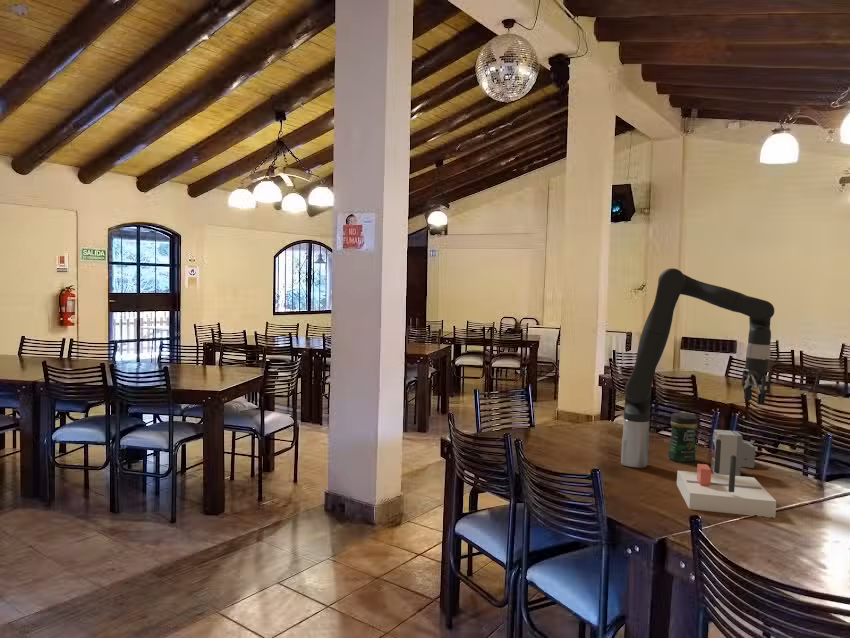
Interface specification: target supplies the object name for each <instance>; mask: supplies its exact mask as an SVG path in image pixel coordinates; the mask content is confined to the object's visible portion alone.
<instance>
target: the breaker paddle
mask: <svg viewBox="0 0 850 638" xmlns="http://www.w3.org/2000/svg"><path fill="white" fill-rule="evenodd" d="M696 472H697V480H698V482H699V483H700V485H710V483H711V474H712V470H711V466H709V465H708V464H706V463H705V464H704V463H702V464H701V463H697V465H696Z"/></svg>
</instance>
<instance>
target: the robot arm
mask: <svg viewBox="0 0 850 638" xmlns="http://www.w3.org/2000/svg"><path fill="white" fill-rule="evenodd" d="M657 281H658V282H657V288H656V294H655V298H654V302H653V304H652V306H651V308H650V311H649V313H648V316H647V317H646V320H645V322H644V325H643V328H642V331H641V335H640V337H639V342H638V347H637V352H636V358H635V363H634V365H633V369H632V372H631V374H630V376H629V378H628V380H627V382H626V383H625V386H624V393H625V395H624V408H623V421H622V422H623V423H622V424H623V426H622V437H621V452H620V453H621V454H620V463H621V465H622V466H624V467H629V468H636V469H639V468H646V467H648V456H649V455H648V454H649V453H648V451H649V434H650V419H651V418H650V417H651V401H652V399H651V398H652V385H653V381H654V377H655V375H654V374H655V371H656V369H657V366H658V364H659V362H660V360H661V357H663V356H662V355H663V353H664V350H665V348H666V345H667V342H668V340H669V339H668V338H669V335H670V332H671V329H672V322H673V317H674V312H675V308H676V306H677V302H678V300H679V298H680V296H681V295H684V296H688V297H691V298H695V299H697V300H700V301H703V302H706V303H708V304H711V305H713V306H716V307H718V308H720V309H724V310H728V311H731V312H733V313H739V314H742V315H744V316H747V317H748V319H749V321H748V323H749V330H748V340H747V345H746V354H745V366H744V367H745V369H744V370H743V371H742V378H741V387H743V389H744V400H746V401H751V400H752V396H753V388H754V387H755V389H756V391H757V401H756V404H757V405H758V406H764V405H765V402H766V395H767V394H771V393H770V392H771V380H772V379H771V375H766V373H767V372H769V370H770V363H771V362H770V361H771V351H772V350H771V339H772V331H771V319H772V317H773V316H774V314H775V307H774V305H773V304H772V303H771V302H769V301H768V300H764V299H761V298H757V297H755V296H754V297H753V296H750V295H746V294H744V293H742V292H739V291H736V290H732V289H730V288H726V287H722V286H718V285H715V284H710V283H707V282H704V281H700V280H698V279H696V278H695V279H694V278H693V277H691V276H689V275H686V274H685V273H683V272H682V271H681V270H679V269H677V268H673V267H672V268H671V267H670V268H667V269H665V270H663V271H662V272H661V273H660V274H659V277H658V280H657Z"/></svg>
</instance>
